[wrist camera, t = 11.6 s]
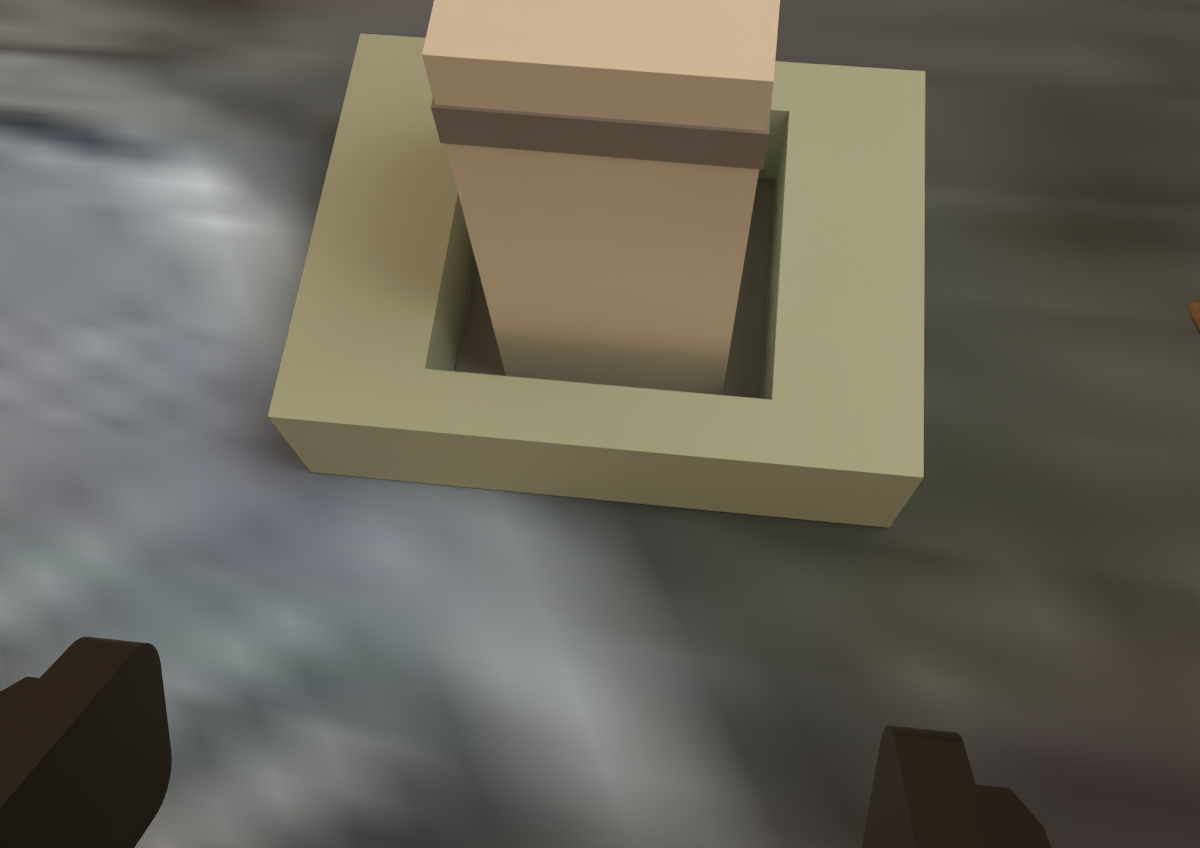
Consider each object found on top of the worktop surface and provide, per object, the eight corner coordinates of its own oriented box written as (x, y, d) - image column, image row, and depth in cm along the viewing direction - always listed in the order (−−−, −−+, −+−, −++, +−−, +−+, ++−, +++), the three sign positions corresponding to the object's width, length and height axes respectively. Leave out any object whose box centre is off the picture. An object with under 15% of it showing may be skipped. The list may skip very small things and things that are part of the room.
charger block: (740, 214, 25) (813, -289, 14) (723, 403, 23) (793, -9, 13) (535, 197, 26) (459, -307, 15) (504, 382, 24) (392, -38, 13)
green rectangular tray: (895, 157, 26) (925, 71, 24) (889, 527, 23) (923, 477, 20) (389, 121, 27) (359, 33, 24) (310, 472, 24) (267, 416, 21)
